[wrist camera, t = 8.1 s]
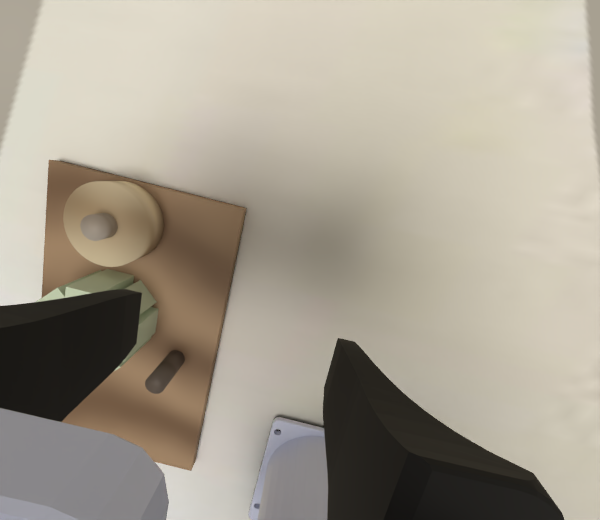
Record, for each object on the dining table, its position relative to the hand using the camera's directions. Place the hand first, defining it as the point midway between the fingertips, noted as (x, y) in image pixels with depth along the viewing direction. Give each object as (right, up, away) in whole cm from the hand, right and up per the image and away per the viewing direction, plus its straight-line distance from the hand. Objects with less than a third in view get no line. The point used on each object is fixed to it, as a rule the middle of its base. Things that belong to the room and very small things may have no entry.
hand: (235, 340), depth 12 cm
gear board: (-9, -2, +11) cm, 15 cm away
